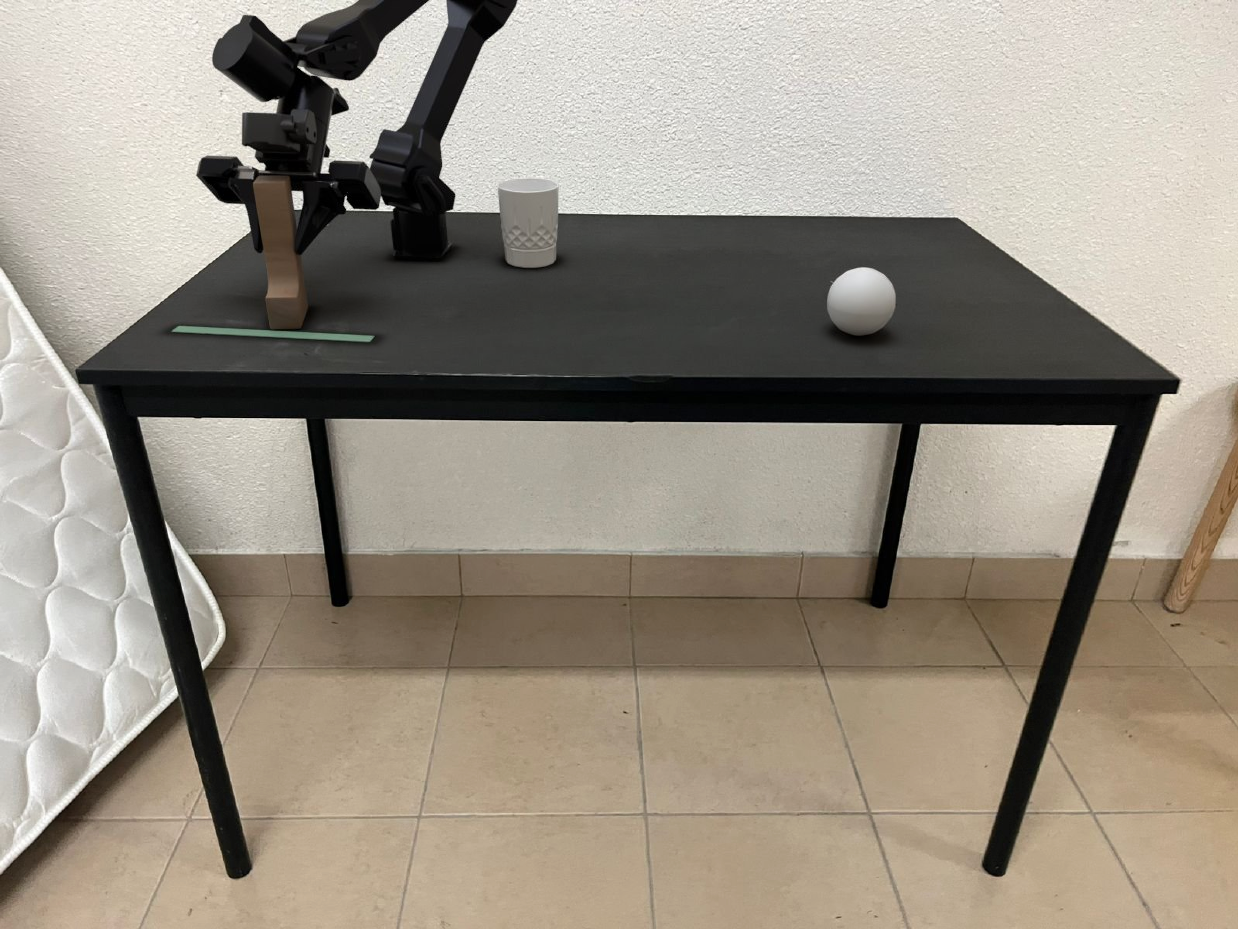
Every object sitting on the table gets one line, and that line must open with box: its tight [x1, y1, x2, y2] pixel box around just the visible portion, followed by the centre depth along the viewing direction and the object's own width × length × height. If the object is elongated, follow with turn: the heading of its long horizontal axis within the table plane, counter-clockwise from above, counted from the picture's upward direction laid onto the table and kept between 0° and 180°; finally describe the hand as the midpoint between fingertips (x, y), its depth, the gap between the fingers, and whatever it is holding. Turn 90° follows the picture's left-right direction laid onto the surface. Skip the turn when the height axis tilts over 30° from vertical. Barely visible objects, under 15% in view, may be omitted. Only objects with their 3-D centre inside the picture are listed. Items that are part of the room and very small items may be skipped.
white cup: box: [496, 177, 560, 269], centre depth 117 cm, size 8×8×10 cm
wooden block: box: [253, 176, 309, 330], centre depth 96 cm, size 7×3×15 cm, turn 10°
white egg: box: [825, 266, 897, 337], centre depth 99 cm, size 10×7×7 cm
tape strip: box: [170, 325, 375, 343], centre depth 96 cm, size 22×2×1 cm, turn 85°
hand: (277, 252), depth 96 cm, fingers open, 4 cm apart
